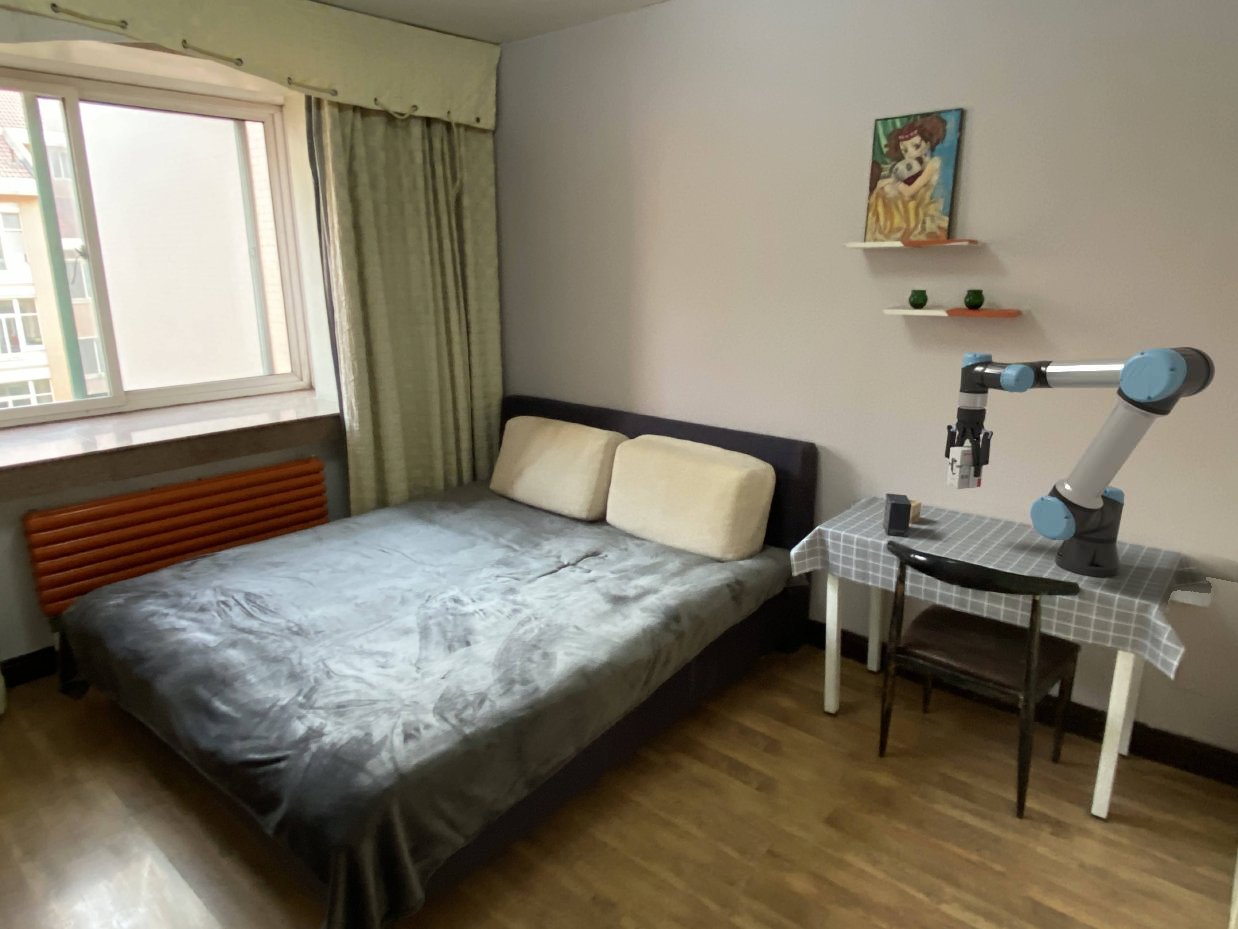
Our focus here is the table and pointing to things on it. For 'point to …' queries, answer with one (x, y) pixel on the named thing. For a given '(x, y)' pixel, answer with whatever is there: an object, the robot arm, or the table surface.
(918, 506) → the oak cube
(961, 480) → the ink box
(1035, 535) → the table surface
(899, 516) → the small box
